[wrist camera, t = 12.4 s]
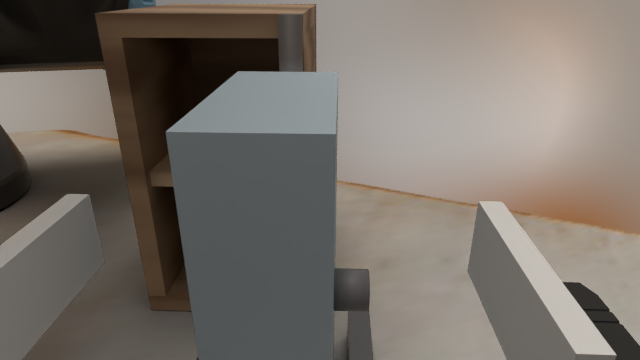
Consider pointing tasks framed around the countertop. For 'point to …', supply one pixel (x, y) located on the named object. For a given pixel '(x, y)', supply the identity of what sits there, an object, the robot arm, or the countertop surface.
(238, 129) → the door
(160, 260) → the cabinet
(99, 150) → the countertop surface
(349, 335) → the hinge bracket
